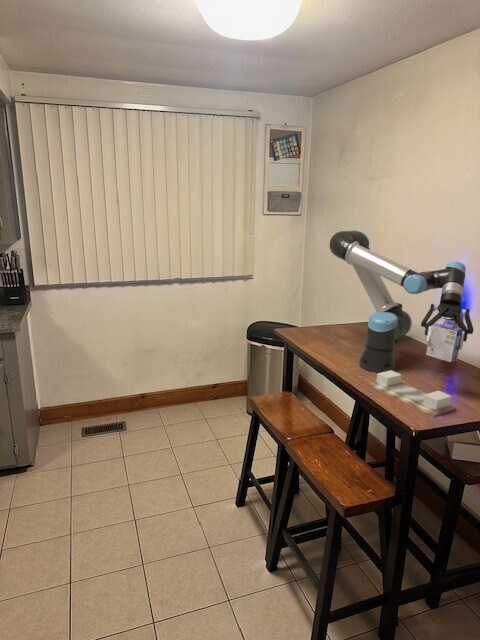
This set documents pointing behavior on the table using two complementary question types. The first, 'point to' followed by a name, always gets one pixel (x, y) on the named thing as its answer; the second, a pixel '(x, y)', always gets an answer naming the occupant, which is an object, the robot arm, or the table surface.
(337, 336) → the table surface
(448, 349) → the ink cartridge box
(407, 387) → the rail board
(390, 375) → the mounted modules
